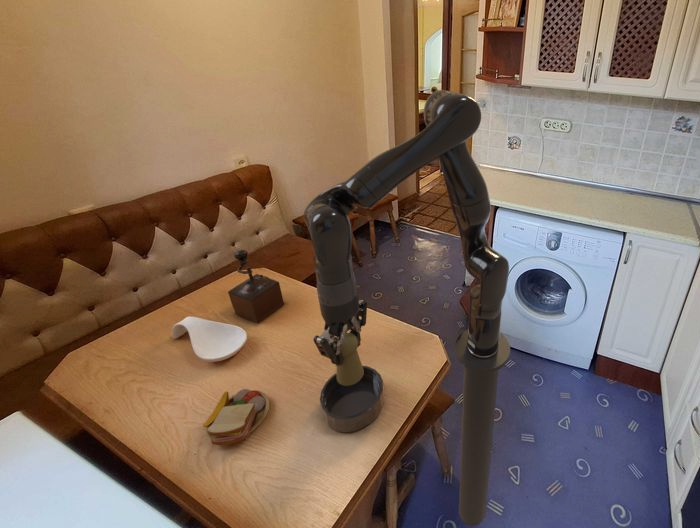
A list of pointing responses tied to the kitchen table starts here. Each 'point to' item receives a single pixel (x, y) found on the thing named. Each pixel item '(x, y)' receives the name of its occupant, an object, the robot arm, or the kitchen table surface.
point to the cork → (349, 362)
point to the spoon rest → (211, 338)
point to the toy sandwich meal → (236, 416)
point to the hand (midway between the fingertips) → (347, 353)
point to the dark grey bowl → (352, 401)
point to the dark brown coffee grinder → (255, 294)
